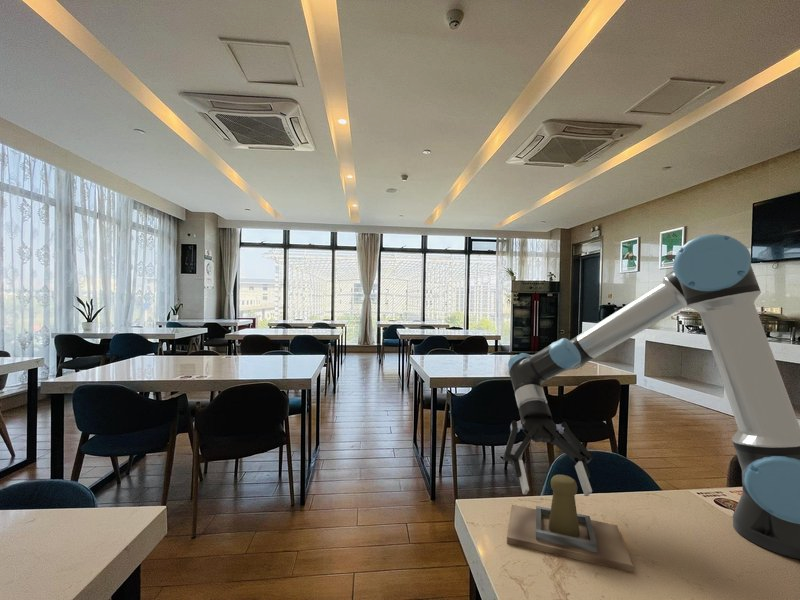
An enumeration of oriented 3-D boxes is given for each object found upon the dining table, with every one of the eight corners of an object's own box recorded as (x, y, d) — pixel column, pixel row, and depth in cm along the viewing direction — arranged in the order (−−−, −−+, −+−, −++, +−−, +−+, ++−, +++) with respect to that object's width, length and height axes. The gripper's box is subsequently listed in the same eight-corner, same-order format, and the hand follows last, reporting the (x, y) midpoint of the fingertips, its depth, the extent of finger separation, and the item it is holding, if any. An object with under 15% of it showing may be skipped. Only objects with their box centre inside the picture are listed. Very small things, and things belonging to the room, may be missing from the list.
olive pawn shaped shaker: (583, 541, 72) (583, 484, 73) (551, 536, 74) (551, 481, 74) (575, 524, 78) (574, 472, 79) (545, 520, 80) (545, 469, 80)
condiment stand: (617, 530, 78) (617, 517, 79) (632, 572, 65) (632, 556, 66) (511, 509, 86) (511, 498, 86) (506, 543, 73) (506, 529, 73)
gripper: (575, 415, 97) (607, 500, 81) (482, 413, 97) (496, 497, 81) (585, 399, 92) (621, 487, 76) (487, 397, 92) (503, 484, 76)
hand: (557, 493), depth 79 cm, fingers open, 13 cm apart
